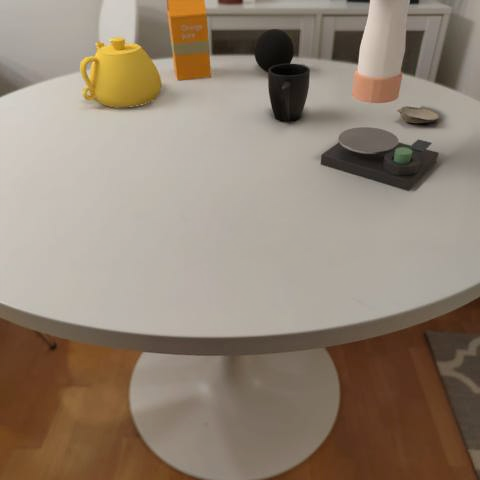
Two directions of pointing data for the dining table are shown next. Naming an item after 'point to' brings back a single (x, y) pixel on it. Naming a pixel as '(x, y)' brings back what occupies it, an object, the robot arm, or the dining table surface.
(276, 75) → the mug
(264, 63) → the decorative ball
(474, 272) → the dining table surface
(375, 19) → the salt shaker
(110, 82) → the teapot
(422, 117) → the seashell
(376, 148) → the scale pan
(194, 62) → the orange juice
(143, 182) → the dining table surface
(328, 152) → the scale
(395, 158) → the tare button
